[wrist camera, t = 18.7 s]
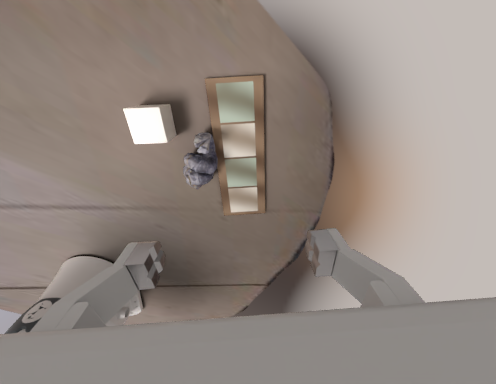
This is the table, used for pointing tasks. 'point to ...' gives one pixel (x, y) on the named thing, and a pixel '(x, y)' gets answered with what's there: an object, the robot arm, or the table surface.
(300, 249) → the table surface
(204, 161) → the seashell
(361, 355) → the robot arm
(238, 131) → the brown rectangular frame
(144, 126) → the cream white cube
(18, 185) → the table surface
